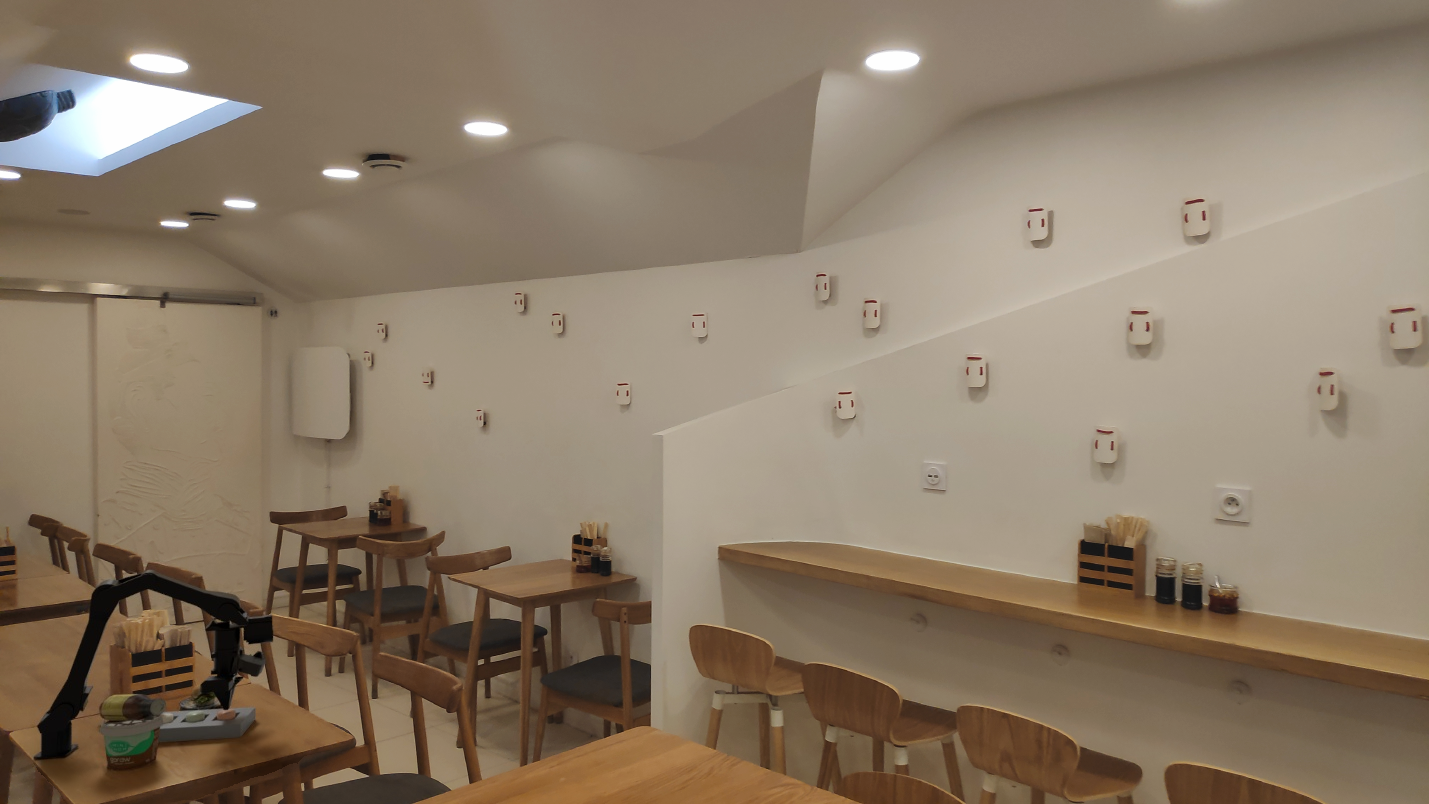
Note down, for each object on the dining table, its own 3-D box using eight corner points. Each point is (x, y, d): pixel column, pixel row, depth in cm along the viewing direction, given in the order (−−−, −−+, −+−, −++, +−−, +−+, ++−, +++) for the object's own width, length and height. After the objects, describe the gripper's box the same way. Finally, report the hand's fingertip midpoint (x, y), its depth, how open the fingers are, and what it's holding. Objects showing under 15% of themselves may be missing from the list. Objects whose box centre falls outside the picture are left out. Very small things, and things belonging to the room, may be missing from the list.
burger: (208, 716, 229) (208, 687, 229) (167, 713, 231) (167, 684, 231) (240, 700, 241) (240, 673, 241) (201, 698, 243) (201, 670, 243)
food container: (89, 775, 193) (90, 729, 193) (101, 763, 199) (101, 719, 199) (154, 769, 196) (154, 724, 196) (163, 758, 202) (163, 714, 202)
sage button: (201, 728, 217) (201, 715, 217) (183, 729, 216) (183, 716, 216) (206, 722, 221) (207, 710, 221) (189, 723, 220) (189, 711, 220)
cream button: (169, 731, 215) (169, 718, 215) (151, 732, 215) (151, 719, 215) (175, 725, 219) (175, 712, 219) (157, 726, 219) (157, 713, 219)
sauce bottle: (126, 709, 229) (176, 711, 221) (103, 725, 224) (153, 728, 216) (115, 688, 228) (165, 689, 219) (92, 703, 222) (142, 705, 214)
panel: (240, 737, 215) (240, 723, 215) (129, 743, 210) (130, 730, 210) (255, 719, 227) (255, 706, 227) (150, 725, 222) (151, 712, 222)
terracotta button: (232, 726, 218) (232, 714, 218) (214, 727, 218) (214, 715, 217) (237, 720, 222) (237, 708, 222) (220, 721, 221) (220, 709, 221)
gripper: (251, 655, 212) (250, 721, 212) (272, 635, 231) (272, 695, 231) (199, 658, 210) (199, 724, 210) (226, 637, 228) (225, 697, 228)
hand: (226, 709), depth 220 cm, fingers closed
